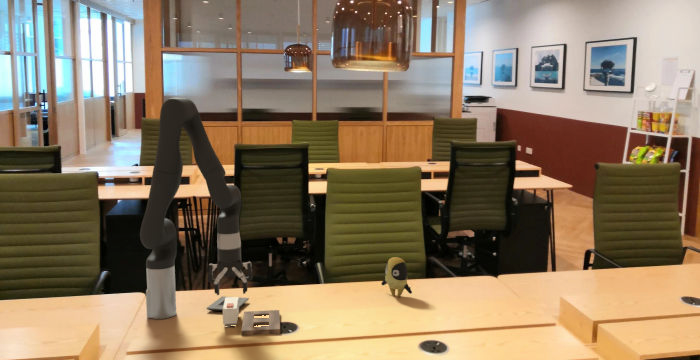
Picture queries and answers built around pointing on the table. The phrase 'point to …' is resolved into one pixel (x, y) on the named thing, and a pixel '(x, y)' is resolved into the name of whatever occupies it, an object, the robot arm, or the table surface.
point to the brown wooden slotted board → (261, 323)
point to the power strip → (230, 311)
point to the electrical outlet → (220, 303)
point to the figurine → (396, 276)
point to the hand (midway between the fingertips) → (231, 293)
